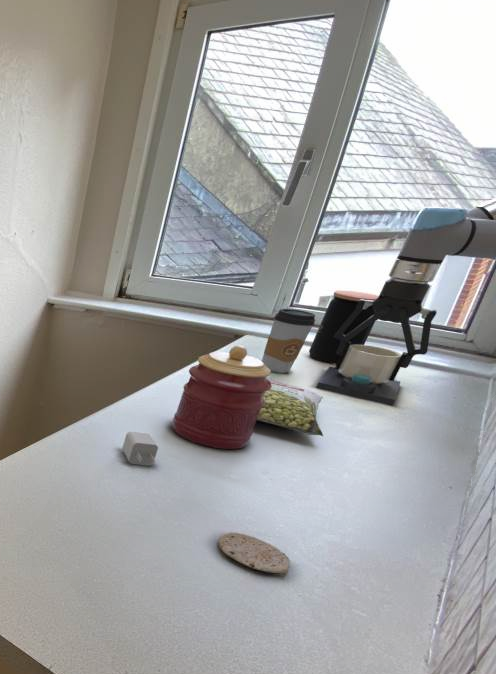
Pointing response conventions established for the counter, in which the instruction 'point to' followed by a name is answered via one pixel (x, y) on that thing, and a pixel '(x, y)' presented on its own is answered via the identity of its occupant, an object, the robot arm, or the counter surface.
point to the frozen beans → (291, 408)
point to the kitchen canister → (222, 399)
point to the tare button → (361, 379)
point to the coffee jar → (335, 318)
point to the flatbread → (254, 553)
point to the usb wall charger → (140, 448)
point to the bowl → (370, 362)
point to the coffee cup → (287, 339)
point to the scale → (359, 387)
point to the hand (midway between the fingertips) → (363, 373)
